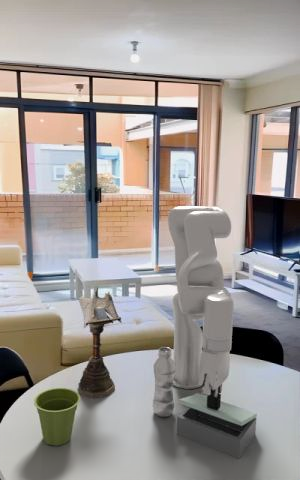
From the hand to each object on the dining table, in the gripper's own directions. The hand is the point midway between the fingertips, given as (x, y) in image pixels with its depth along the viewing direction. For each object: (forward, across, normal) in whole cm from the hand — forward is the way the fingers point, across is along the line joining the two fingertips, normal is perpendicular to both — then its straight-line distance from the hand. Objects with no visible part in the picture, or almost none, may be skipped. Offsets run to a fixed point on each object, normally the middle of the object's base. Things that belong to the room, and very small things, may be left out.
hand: (213, 407), depth 111 cm
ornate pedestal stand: (+9, -2, -40) cm, 41 cm away
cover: (+2, -3, 0) cm, 4 cm away
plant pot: (+9, +23, -34) cm, 42 cm away
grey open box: (+9, -2, 0) cm, 9 cm away
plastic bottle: (+9, -3, -17) cm, 20 cm away
